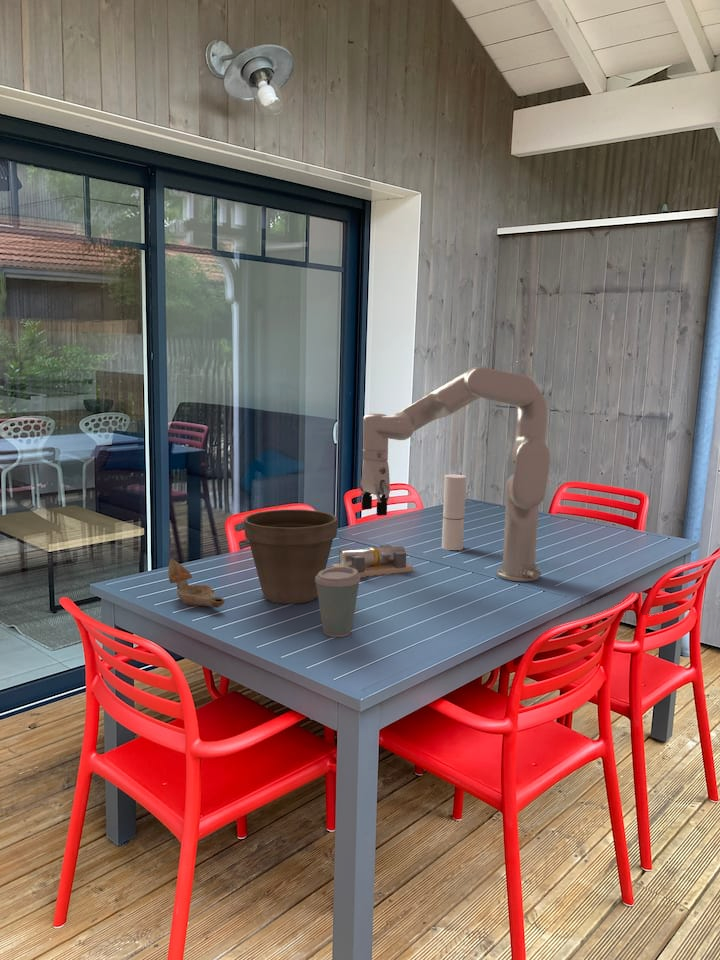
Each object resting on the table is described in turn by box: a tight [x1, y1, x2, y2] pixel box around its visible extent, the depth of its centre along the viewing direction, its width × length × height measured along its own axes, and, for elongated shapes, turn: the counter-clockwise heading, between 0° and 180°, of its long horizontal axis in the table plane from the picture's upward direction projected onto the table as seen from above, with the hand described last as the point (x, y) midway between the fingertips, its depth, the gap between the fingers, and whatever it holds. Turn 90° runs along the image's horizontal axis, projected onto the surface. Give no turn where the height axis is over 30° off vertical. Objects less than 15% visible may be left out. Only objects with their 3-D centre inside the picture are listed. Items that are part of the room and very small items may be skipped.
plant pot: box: [243, 509, 338, 605], centre depth 206 cm, size 25×25×22 cm
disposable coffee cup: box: [315, 566, 361, 638], centre depth 180 cm, size 11×11×15 cm
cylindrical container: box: [441, 473, 467, 551], centre depth 261 cm, size 7×7×25 cm
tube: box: [340, 545, 407, 567], centre depth 234 cm, size 20×5×5 cm, turn 116°
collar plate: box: [330, 544, 414, 578], centre depth 234 cm, size 11×22×6 cm, turn 116°
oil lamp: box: [167, 558, 226, 609], centre depth 199 cm, size 9×21×10 cm, turn 49°
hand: (374, 512), depth 231 cm, fingers open, 9 cm apart
